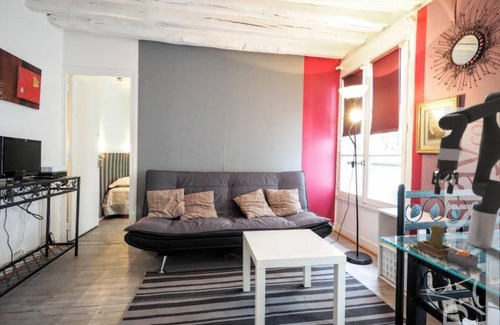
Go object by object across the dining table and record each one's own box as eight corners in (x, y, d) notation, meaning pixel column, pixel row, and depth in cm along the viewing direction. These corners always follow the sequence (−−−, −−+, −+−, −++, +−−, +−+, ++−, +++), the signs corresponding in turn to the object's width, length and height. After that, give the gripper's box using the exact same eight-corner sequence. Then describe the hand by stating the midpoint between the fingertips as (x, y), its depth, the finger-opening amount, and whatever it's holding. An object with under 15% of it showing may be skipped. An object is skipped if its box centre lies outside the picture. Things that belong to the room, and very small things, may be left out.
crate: (431, 245, 125) (432, 239, 125) (458, 256, 114) (459, 249, 113) (412, 246, 121) (413, 240, 121) (439, 258, 110) (440, 251, 109)
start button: (460, 256, 109) (461, 248, 109) (470, 261, 106) (472, 253, 105) (453, 257, 108) (455, 249, 108) (464, 262, 104) (465, 253, 104)
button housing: (458, 258, 112) (459, 249, 111) (476, 266, 105) (478, 257, 105) (446, 259, 109) (448, 250, 109) (465, 268, 103) (467, 258, 102)
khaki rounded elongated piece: (445, 253, 114) (449, 228, 113) (430, 250, 115) (434, 226, 114) (438, 247, 120) (442, 224, 119) (423, 245, 121) (427, 222, 120)
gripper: (449, 158, 125) (445, 192, 126) (428, 157, 119) (424, 192, 121) (467, 160, 118) (462, 195, 119) (446, 159, 112) (441, 196, 114)
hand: (443, 194), depth 120 cm, fingers open, 8 cm apart
